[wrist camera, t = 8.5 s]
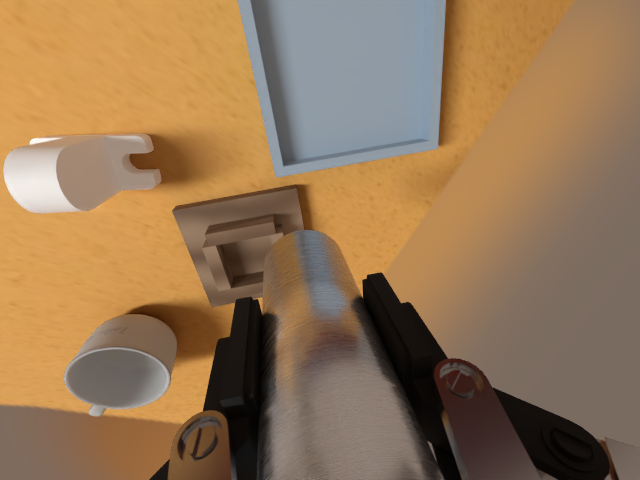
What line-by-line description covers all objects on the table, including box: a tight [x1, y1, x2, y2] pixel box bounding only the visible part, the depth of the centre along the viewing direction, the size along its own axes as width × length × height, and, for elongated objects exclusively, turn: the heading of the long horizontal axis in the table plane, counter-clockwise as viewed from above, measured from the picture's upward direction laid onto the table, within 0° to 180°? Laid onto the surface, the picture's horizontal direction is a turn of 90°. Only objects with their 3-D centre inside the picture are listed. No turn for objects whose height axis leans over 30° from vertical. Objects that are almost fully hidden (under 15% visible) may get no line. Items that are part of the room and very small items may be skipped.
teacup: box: [64, 314, 177, 416], centre depth 37 cm, size 14×11×8 cm
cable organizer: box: [3, 134, 162, 213], centre depth 26 cm, size 5×10×10 cm, turn 90°
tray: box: [238, 0, 446, 177], centre depth 27 cm, size 22×18×3 cm
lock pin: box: [257, 230, 445, 480], centre depth 9 cm, size 4×4×12 cm
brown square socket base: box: [172, 185, 304, 307], centre depth 35 cm, size 14×14×4 cm
